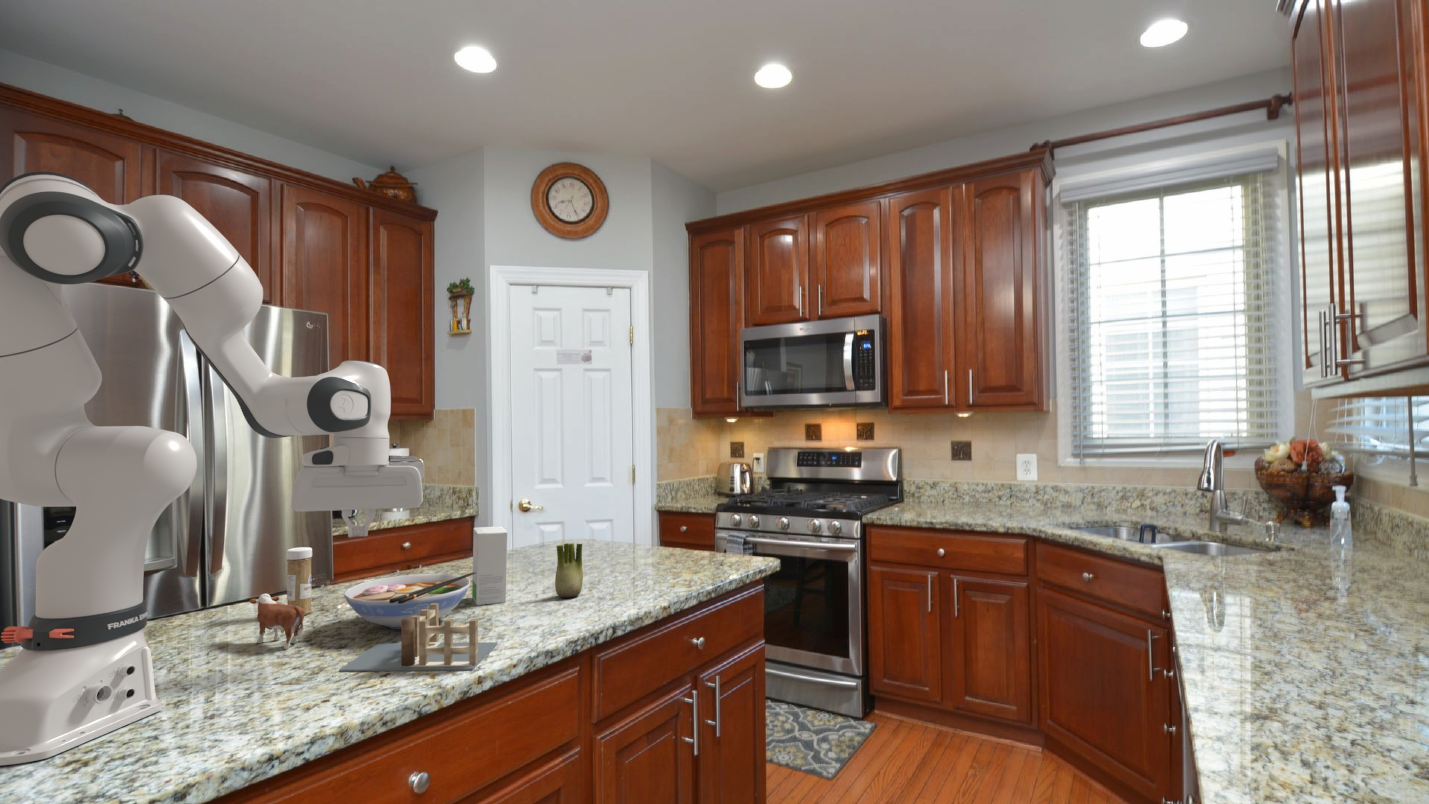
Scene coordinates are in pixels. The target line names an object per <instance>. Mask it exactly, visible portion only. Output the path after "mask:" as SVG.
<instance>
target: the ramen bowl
mask: <svg viewBox="0 0 1429 804" xmlns="http://www.w3.org/2000/svg"><path fill="white" fill-rule="evenodd" d="M473 574H475V573H474V572H473V571H472V572H471V573H467V574H464V575H459V574H458V575H457V574H449V573H419V574H404V575H396V576H389V577H384V578H382V577H381V578H377V579H372V580H369V581H365V582H361V583H358V584H355V585H353V586H350V587H348V588H347V589H345V591H344V593H343V597H344V599H345V600H346V602H347V604H348V605H349V606H350V607H351V609H352V610H354V612H356V613H357V615H358V616H360V617H361V618H363V619H364V620H366V621H367V622H370V623H373V624H376V625H381V626H385V627H388V628H390V629H392V630H393V629H395V630H401V620H402V619H405V618H410V617H411V616H420V611H421V610H422V609H430V604H432V603H439V618H442V617H443V616H445V615H447V614H448V613H450V612H451V611H453V610H454V609H455V608H456V607H457V606H458V605H459V604H460V602H461V601H462V600H463V598H464V597H465V595H466V594H467V591H468V589H469V587H470V586H471V579H470V578H468V577H470V576H473Z"/></svg>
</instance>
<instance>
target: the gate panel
mask: <svg viewBox="0 0 1429 804" xmlns="http://www.w3.org/2000/svg"><path fill="white" fill-rule="evenodd" d="M410 618H415V657H418V656H419V621H421V620H422V619H428V626H440V625H439V624H440V622H439V620H440V619H439V603H432V604H430V609H422V610H421V611H420V616H411V617H410ZM439 635H440V634H428V647H430V643H438V641H440V637H439Z"/></svg>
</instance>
